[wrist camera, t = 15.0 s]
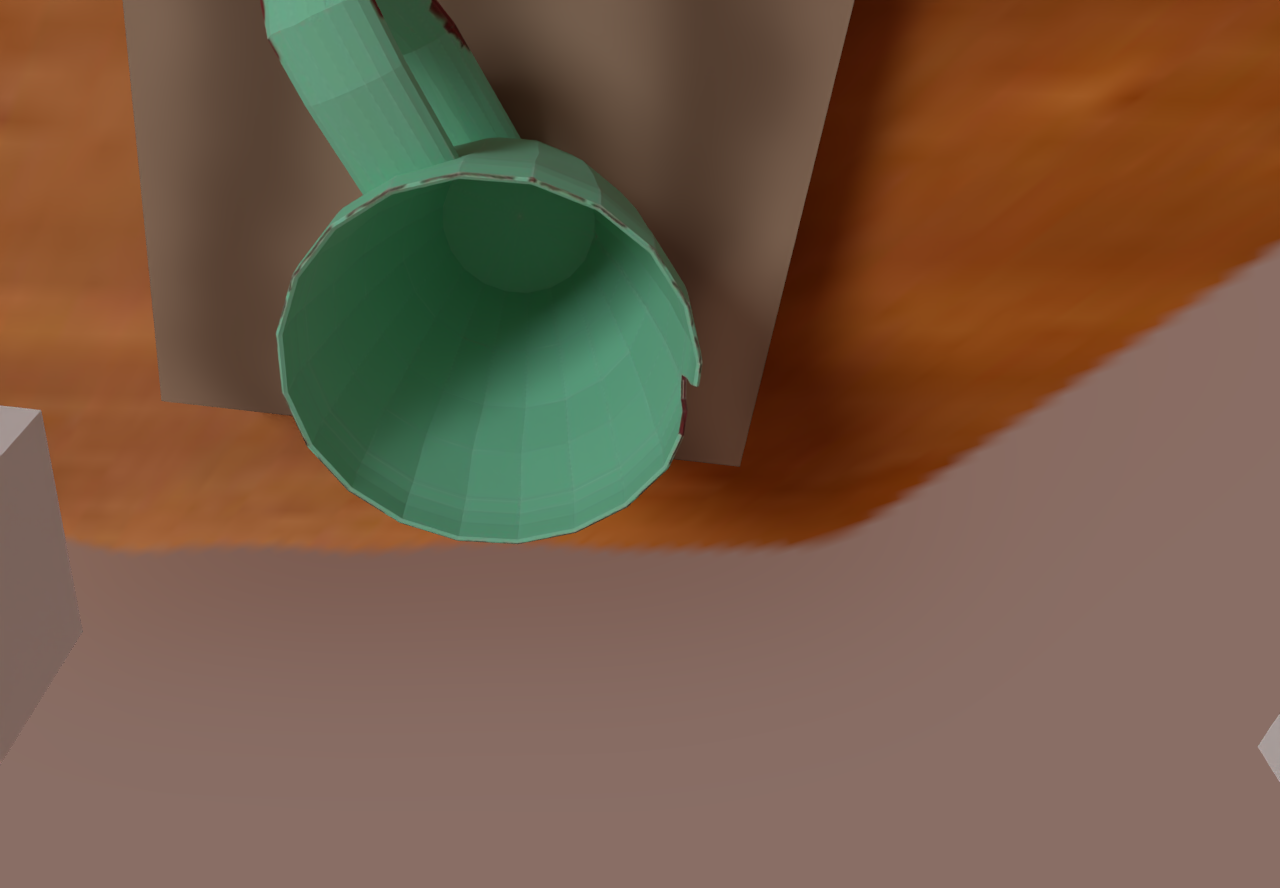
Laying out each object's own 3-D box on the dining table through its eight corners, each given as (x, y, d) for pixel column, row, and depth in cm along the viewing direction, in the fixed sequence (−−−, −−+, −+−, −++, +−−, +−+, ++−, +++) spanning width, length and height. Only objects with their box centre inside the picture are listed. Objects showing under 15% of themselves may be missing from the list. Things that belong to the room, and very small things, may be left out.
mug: (721, 298, 35) (758, 472, 27) (450, 399, 37) (404, 591, 28) (531, -187, 28) (499, -157, 19) (201, -32, 29) (40, 58, 21)
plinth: (864, -176, 31) (895, -167, 28) (728, 409, 42) (739, 466, 39) (151, -305, 29) (92, -311, 26) (198, 345, 40) (161, 401, 37)
